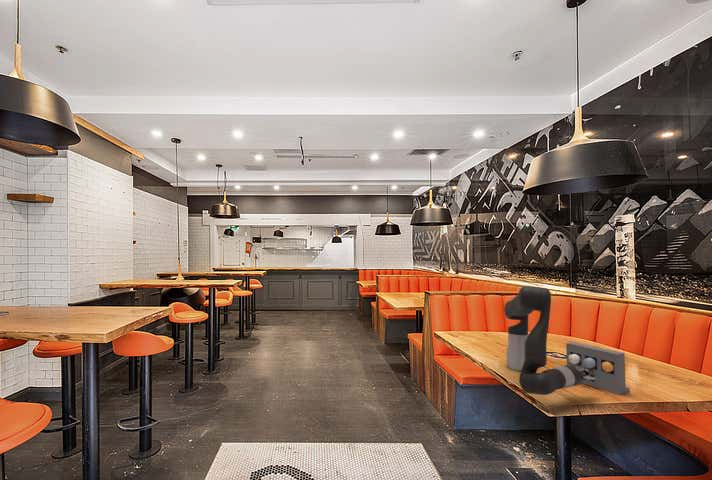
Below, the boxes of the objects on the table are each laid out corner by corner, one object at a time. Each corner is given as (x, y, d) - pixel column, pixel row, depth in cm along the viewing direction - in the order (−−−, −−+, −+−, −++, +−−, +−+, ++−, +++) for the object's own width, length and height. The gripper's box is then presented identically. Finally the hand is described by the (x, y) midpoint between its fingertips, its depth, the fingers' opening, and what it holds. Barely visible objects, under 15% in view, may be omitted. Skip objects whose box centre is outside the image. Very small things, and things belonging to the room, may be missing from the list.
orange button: (601, 370, 144) (601, 360, 145) (605, 369, 146) (605, 359, 146) (612, 373, 141) (612, 363, 141) (616, 372, 142) (616, 362, 142)
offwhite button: (568, 362, 155) (568, 353, 156) (572, 361, 157) (572, 352, 157) (577, 364, 152) (577, 355, 152) (581, 364, 153) (581, 354, 153)
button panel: (567, 378, 157) (566, 343, 158) (577, 376, 161) (576, 341, 162) (619, 394, 139) (617, 354, 140) (629, 391, 142) (628, 352, 143)
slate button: (583, 366, 150) (583, 357, 150) (587, 365, 151) (587, 356, 151) (593, 369, 146) (593, 359, 146) (597, 368, 147) (597, 358, 148)
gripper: (582, 371, 124) (608, 365, 132) (547, 361, 136) (573, 356, 144) (582, 393, 124) (609, 385, 131) (547, 381, 135) (574, 375, 143)
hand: (590, 370), depth 137 cm, fingers closed
